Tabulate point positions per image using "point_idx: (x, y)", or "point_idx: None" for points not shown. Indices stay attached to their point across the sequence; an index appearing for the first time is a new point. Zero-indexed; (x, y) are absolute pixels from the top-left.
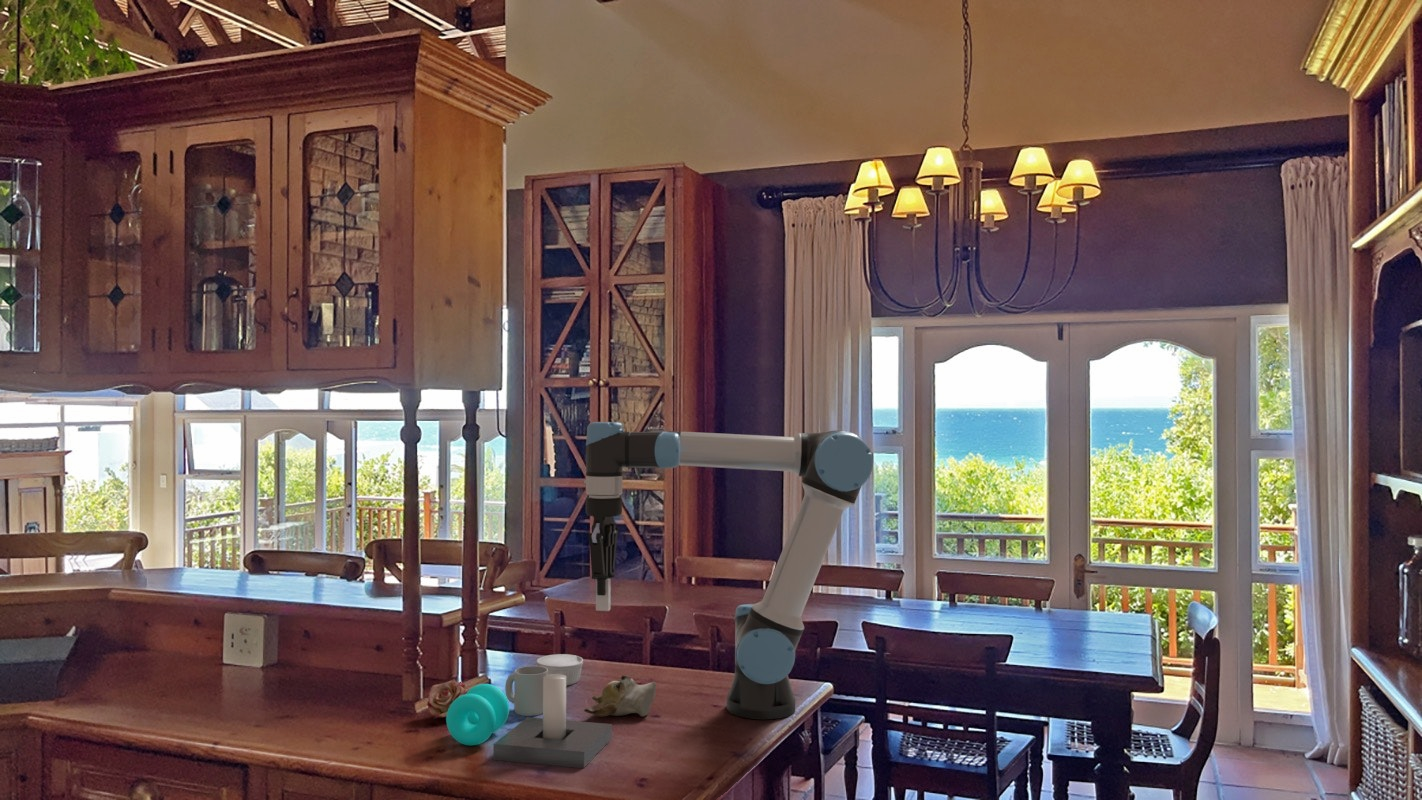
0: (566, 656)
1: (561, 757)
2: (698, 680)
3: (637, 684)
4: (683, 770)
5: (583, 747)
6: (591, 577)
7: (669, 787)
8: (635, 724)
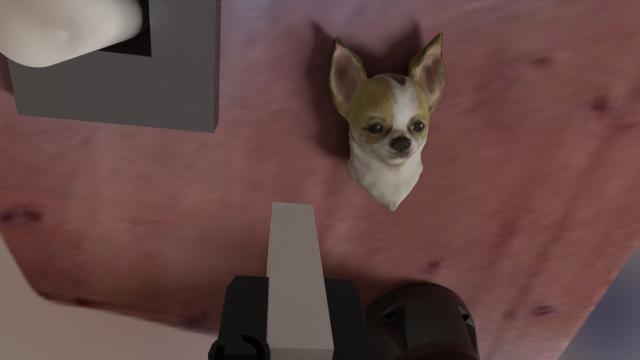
0: None
1: None
2: (595, 218)
3: (395, 168)
4: (99, 265)
5: (44, 106)
6: (213, 344)
7: (17, 258)
8: (315, 150)
